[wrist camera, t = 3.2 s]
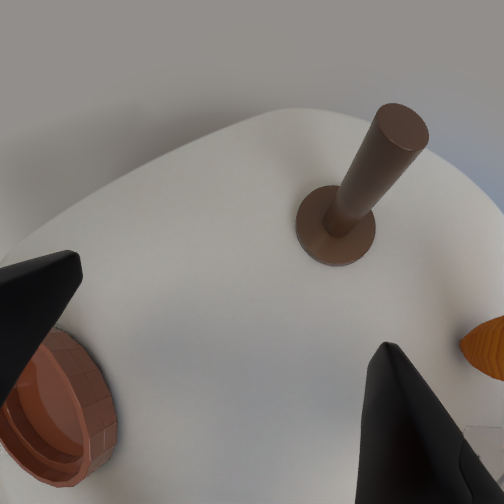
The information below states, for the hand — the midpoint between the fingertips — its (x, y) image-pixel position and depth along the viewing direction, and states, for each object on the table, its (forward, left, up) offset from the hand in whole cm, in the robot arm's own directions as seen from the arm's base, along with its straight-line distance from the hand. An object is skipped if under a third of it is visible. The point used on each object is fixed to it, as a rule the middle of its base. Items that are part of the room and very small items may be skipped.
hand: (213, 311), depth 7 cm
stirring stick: (0, -9, -13) cm, 16 cm away
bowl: (+6, +19, -13) cm, 24 cm away
